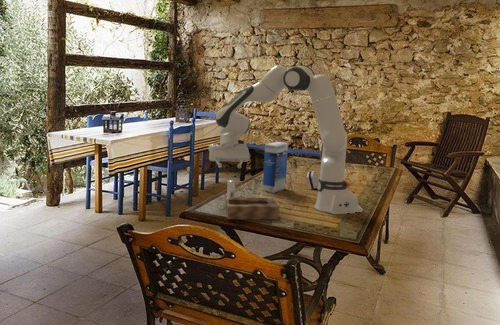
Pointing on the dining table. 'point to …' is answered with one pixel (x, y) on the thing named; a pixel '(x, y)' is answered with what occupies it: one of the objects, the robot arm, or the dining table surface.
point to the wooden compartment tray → (251, 208)
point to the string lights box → (275, 166)
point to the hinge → (312, 179)
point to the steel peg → (231, 189)
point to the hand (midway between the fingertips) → (229, 167)
